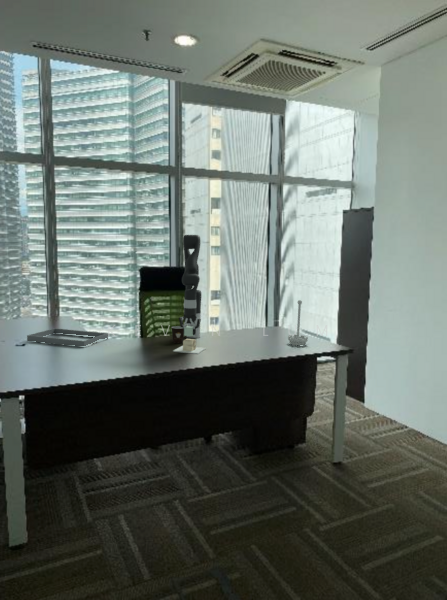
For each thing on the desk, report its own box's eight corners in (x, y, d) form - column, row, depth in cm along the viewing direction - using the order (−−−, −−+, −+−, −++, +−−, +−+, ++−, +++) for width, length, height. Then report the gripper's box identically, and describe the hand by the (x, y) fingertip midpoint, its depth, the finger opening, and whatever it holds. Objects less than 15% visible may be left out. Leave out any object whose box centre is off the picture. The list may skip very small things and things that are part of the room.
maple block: (186, 348, 277) (186, 338, 276) (195, 349, 275) (195, 339, 275) (182, 350, 271) (183, 340, 271) (192, 351, 270) (192, 341, 269)
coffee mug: (169, 342, 293) (169, 327, 292) (174, 340, 301) (174, 325, 300) (185, 344, 290) (185, 329, 289) (190, 341, 298) (190, 327, 297)
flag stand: (305, 347, 293) (308, 301, 289) (286, 345, 297) (288, 300, 293) (308, 343, 305) (311, 299, 301) (289, 341, 309) (291, 298, 306)
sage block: (187, 334, 275) (187, 326, 275) (194, 334, 274) (194, 326, 273) (184, 335, 271) (184, 327, 270) (191, 336, 269) (192, 328, 269)
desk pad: (182, 346, 283) (182, 345, 283) (205, 349, 279) (205, 348, 279) (173, 351, 270) (173, 350, 270) (198, 354, 266) (198, 353, 265)
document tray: (54, 333, 310) (54, 328, 310) (108, 339, 298) (108, 333, 298) (27, 341, 284) (27, 335, 284) (84, 347, 272) (84, 341, 272)
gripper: (203, 307, 272) (202, 334, 274) (181, 305, 276) (180, 332, 278) (199, 308, 265) (198, 336, 267) (176, 306, 269) (176, 334, 271)
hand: (189, 334), depth 272 cm, fingers closed on sage block, 5 cm apart
